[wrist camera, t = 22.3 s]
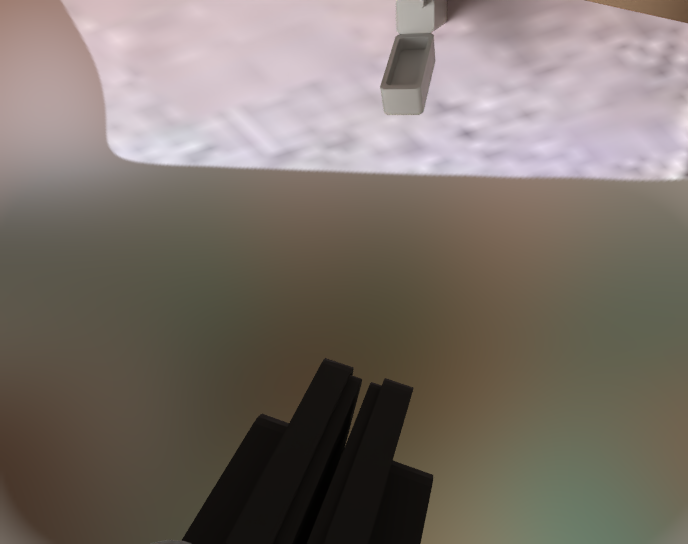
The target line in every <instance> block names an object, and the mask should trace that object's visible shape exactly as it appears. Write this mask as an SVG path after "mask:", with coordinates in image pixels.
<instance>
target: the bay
mask: <svg viewBox="0 0 688 544" xmlns="http://www.w3.org/2000/svg"><path fill="white" fill-rule="evenodd" d="M586 1H590V2H595V3H599V4H604V5H608V6H613V7H617V8H622V9H626V10H631V11H635V12H640V13H644V14H649V15H653V16H658V17H662V18H667V19H671V20H676V21H680V22H685V23H688V0H586Z"/></svg>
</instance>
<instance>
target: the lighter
mask: <svg viewBox="0 0 688 544" xmlns="http://www.w3.org/2000/svg"><path fill="white" fill-rule="evenodd" d="M446 21H447V0H396V31H397V32H398V33H399V35H397V36H396V37H395V41H394V44H393V47H392V50H391V54H390V57H389V60H388V63H387V67H386V70H385V73H384V76H383V79H382V83H381V86H380V89H381V96H382V102H383V109H384V113H385V114H387V115H419V114H421V113H423V111H424V107H425V103H426V99H427V94H428V90H429V86H430V81H431V77H432V73H433V69H434V64H435V49H434V35H433V34H431V33H432V32H433V31H435V30H436V29H438V28H439V27H440V26H442V25H443V24H444V23H445V22H446Z"/></svg>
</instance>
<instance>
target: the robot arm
mask: <svg viewBox="0 0 688 544" xmlns="http://www.w3.org/2000/svg"><path fill="white" fill-rule="evenodd" d="M352 375H353V367H350V366H347V365H344V364H341V363H338V362H335V361H332V360H329V359H326V358H325V359H324V360H323V362H322V363H321V365H320V367H319V369H318V371H317V373H316V375H315V376H314V378H313V380H312V382H311V384H310V386H309V388H308V390H307V391H306V393H305V395H304V397H303V399H302V401H301V403H300V404H299V406H298V408H297V410H296V412H295V414H294V415H293V418H292V419H291V421H290V423H286V422H284V421H281V420H278V419H275V418H273V417H270V416H267V415H264V414H261V415H260V416H259V417H258V418H257V419H256V421H255V422H254V423H253V425H252V427H251V428H250V430H249V431H248V433H247V435H246V436H245V438H244V440H243V441H242V443H241V445H240V446H239V448H238V449H237V451H236V453H235V455H234V456H233V458H232V459H231V461H230V462H229V464H228V466H227V467H226V469H225V471H224V472H223V474H222V475H221V477H220V479H219V480H218V482H217V484H216V486H215V487H214V488H213V490H212V492H211V493H210V495H209V497H208V498H207V500H206V502H205V503H204V505H203V506H202V508H201V510H200V511H199V513H198V514H197V516H196V518H195V519H194V521H193V523H192V524H191V526H190V528H189V529H188V531H187V532H186V534H185V536H184V537H183V539H182V541H177V540H165V541H160V542H154V543H151V544H420V543H421V538H422V533H423V528H424V523H425V518H426V513H427V508H428V503H429V498H430V493H431V488H432V483H433V475H432V474H429V473H426V472H423V471H421V470H418V469H415V468H412V467H409V466H407V465H403V464H401V463H398V462H395V461H393V457H394V453H395V450H396V447H397V443H398V440H399V436H400V433H401V429H402V426H403V423H404V419H405V416H406V412H407V409H408V405H409V402H410V399H411V395H412V392H413V387H410V386H407V385H404V384H401V383H398V382H395V381H392V380H389V379H386V378H385V379H384V381H383V384H382V386H381V385H378V384H375V383H372V382H371V383H370V385H369V388H368V390H367V393H366V395H365V398H364V400H363V403H362V405H361V408H360V411H359V414H358V416H357V418H356V421H355V423H354V426H353V428H352V431H351V433H350V436H349V438H348V441H347V437H348V433H349V429H350V425H351V421H352V418H353V414H354V410H355V406H356V402H357V398H358V394H359V391H360V387H361V382H362V379H360V378H358V377H355V376H352ZM346 441H347V443H346ZM345 444H346V446H345Z"/></svg>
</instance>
